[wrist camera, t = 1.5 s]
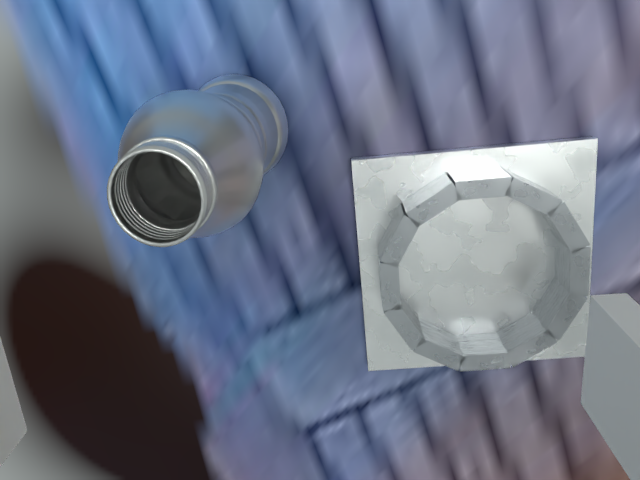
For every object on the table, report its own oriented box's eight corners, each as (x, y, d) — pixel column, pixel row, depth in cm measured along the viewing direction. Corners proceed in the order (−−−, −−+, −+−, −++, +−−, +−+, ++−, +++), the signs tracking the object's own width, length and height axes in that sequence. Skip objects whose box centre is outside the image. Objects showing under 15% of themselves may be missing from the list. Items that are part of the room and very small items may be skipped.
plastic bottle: (208, 179, 42) (97, 298, 23) (184, 80, 40) (40, 120, 21) (300, 164, 41) (263, 272, 22) (280, 62, 39) (222, 87, 20)
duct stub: (581, 349, 45) (603, 378, 41) (367, 364, 46) (370, 393, 42) (591, 136, 40) (617, 146, 36) (351, 157, 41) (352, 170, 37)
